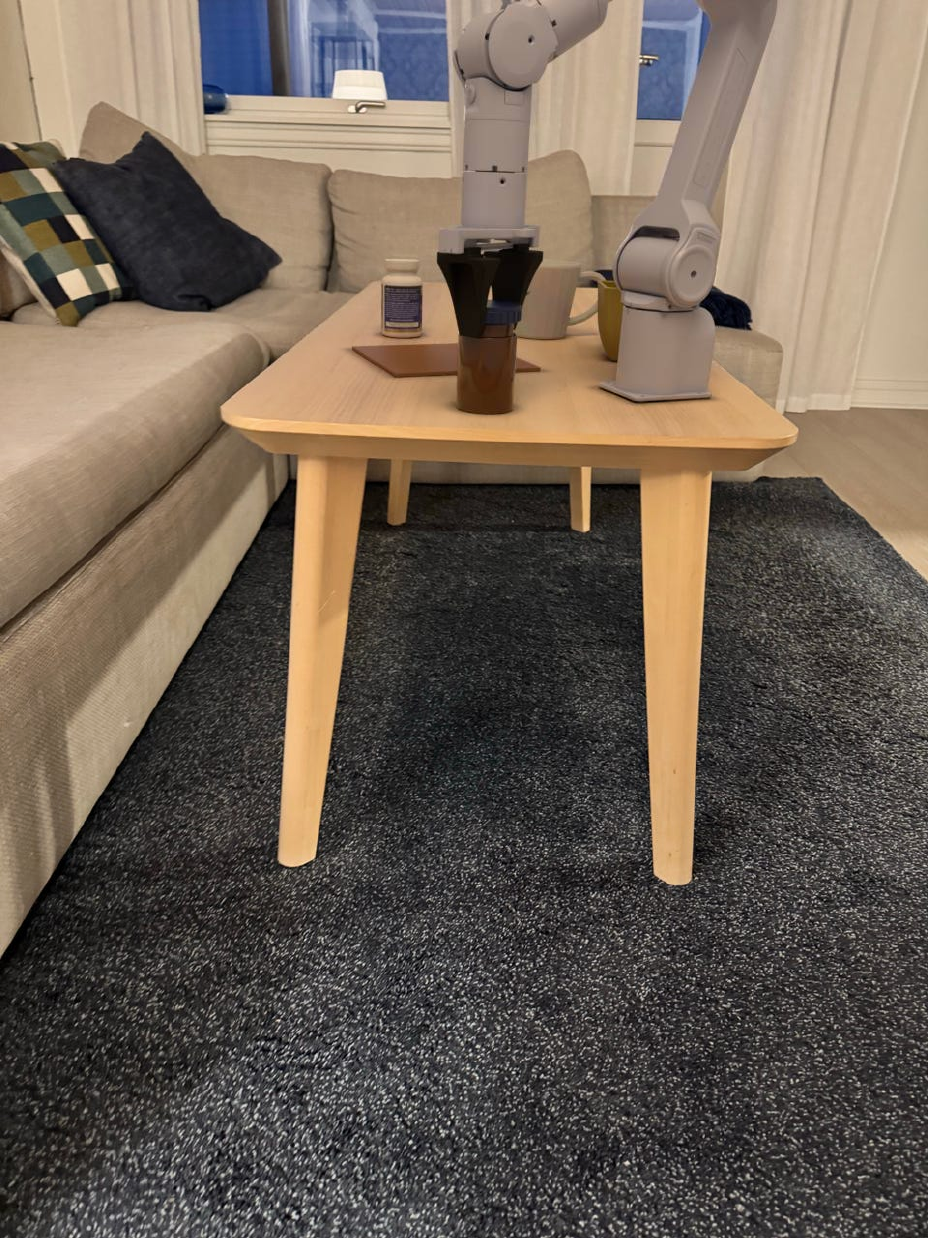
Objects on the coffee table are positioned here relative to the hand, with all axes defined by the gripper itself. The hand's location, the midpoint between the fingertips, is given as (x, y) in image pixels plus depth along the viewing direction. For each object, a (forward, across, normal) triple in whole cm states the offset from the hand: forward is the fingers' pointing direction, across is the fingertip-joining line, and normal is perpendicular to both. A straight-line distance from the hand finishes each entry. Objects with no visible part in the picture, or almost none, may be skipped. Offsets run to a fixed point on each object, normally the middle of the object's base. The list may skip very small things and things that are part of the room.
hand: (488, 332), depth 86 cm
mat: (+7, +19, +17) cm, 26 cm away
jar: (+7, 0, 0) cm, 7 cm away
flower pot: (+7, +36, 0) cm, 37 cm away
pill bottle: (+7, +30, +32) cm, 45 cm away
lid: (-2, 0, 0) cm, 2 cm away
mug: (+7, +46, +16) cm, 49 cm away
